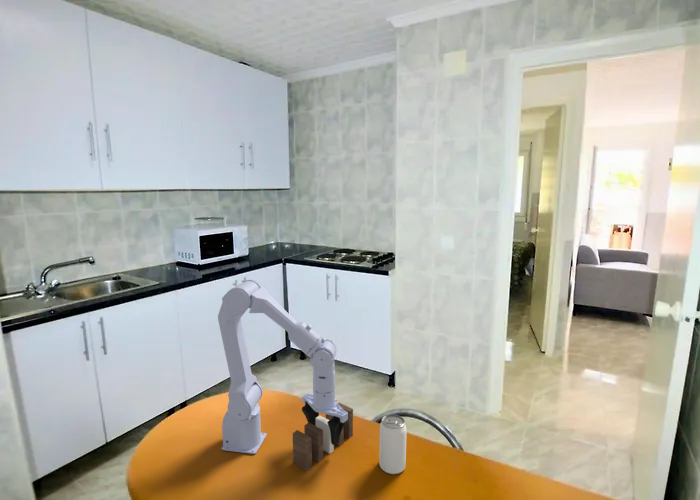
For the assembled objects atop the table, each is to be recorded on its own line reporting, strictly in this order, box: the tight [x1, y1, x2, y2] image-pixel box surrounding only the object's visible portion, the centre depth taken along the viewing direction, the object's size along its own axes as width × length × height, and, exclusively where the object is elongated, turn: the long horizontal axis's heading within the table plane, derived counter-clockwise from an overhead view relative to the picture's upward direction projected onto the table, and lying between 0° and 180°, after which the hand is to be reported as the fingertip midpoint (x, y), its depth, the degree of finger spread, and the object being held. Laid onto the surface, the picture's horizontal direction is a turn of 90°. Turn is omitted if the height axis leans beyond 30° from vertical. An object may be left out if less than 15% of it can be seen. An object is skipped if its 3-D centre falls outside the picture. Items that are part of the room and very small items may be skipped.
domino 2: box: [303, 422, 324, 463], centre depth 93 cm, size 2×5×8 cm, turn 51°
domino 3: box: [316, 414, 335, 455], centre depth 96 cm, size 2×5×8 cm, turn 50°
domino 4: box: [325, 414, 345, 447], centre depth 99 cm, size 2×5×8 cm, turn 51°
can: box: [378, 413, 407, 475], centre depth 90 cm, size 6×6×12 cm
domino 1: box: [292, 429, 313, 472], centre depth 90 cm, size 2×5×8 cm, turn 51°
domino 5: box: [337, 402, 354, 439], centre depth 103 cm, size 2×5×8 cm, turn 51°
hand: (324, 436), depth 96 cm, fingers open, 7 cm apart
